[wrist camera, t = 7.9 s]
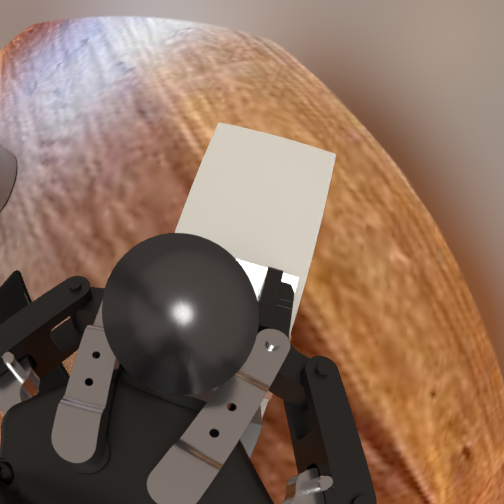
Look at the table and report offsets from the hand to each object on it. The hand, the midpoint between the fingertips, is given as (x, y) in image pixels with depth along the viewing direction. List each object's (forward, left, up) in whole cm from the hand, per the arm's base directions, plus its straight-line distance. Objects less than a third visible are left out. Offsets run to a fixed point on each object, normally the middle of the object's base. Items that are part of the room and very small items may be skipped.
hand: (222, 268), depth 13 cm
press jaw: (+1, -2, -6) cm, 7 cm away
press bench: (+1, -1, -9) cm, 9 cm away
